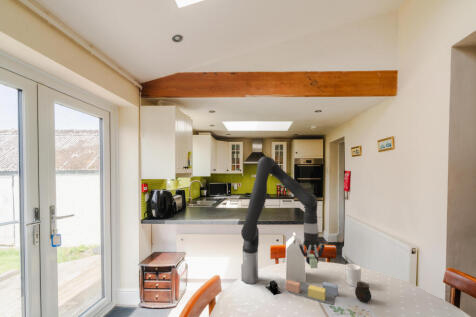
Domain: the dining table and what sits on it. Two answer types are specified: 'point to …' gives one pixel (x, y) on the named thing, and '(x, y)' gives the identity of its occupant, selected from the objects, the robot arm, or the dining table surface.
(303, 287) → the mat
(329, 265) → the dining table surface
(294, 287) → the terracotta block
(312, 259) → the green block
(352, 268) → the white cup
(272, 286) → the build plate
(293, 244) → the milk
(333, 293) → the blue block
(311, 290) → the mustard block
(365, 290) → the mate gourd
